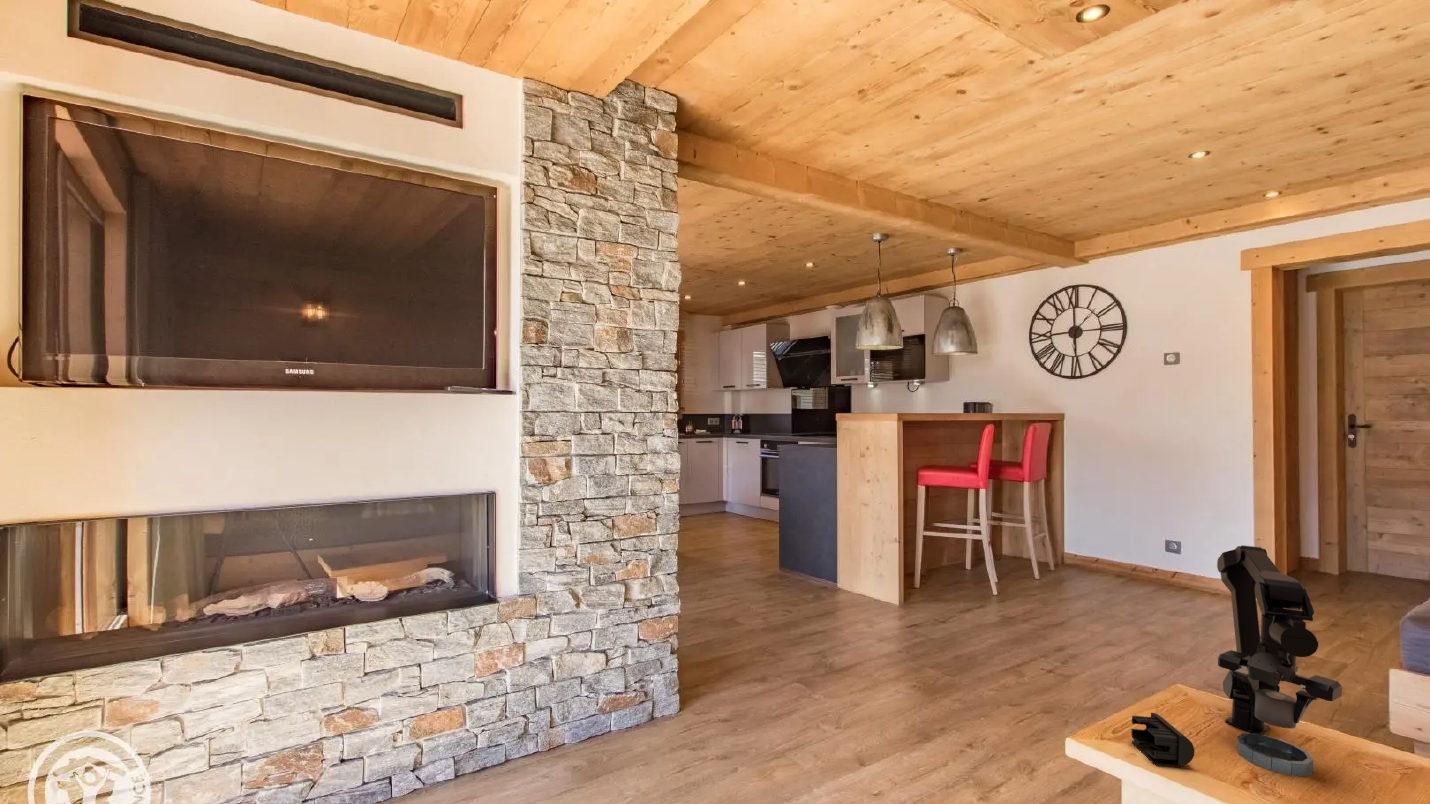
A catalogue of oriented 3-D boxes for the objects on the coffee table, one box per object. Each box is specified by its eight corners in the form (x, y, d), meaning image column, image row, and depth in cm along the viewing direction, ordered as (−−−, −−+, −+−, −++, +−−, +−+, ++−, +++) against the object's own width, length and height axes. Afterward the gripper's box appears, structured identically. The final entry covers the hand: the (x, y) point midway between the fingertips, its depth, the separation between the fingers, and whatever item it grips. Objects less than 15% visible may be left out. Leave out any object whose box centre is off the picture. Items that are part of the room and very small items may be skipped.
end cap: (1194, 771, 129) (1195, 737, 129) (1156, 767, 129) (1157, 733, 129) (1165, 744, 139) (1166, 713, 139) (1129, 741, 139) (1131, 710, 139)
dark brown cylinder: (1261, 710, 139) (1263, 685, 139) (1301, 723, 133) (1302, 698, 133) (1248, 716, 135) (1249, 691, 135) (1288, 731, 130) (1289, 705, 130)
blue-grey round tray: (1251, 739, 142) (1251, 728, 142) (1320, 766, 132) (1321, 754, 132) (1227, 752, 136) (1227, 741, 136) (1298, 781, 126) (1299, 769, 126)
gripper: (1207, 631, 138) (1204, 704, 138) (1323, 663, 122) (1319, 746, 122) (1230, 623, 144) (1227, 693, 144) (1344, 653, 128) (1341, 732, 128)
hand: (1275, 715), depth 134 cm, fingers closed on dark brown cylinder, 6 cm apart
